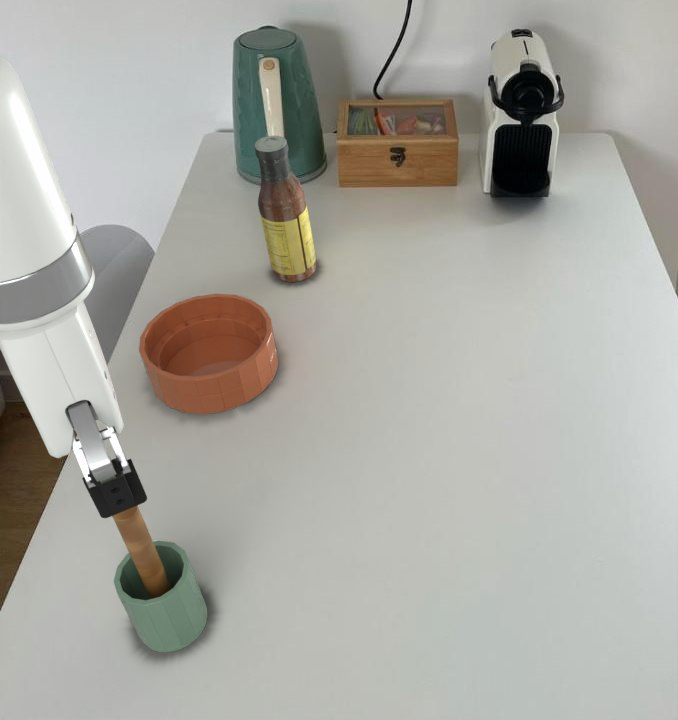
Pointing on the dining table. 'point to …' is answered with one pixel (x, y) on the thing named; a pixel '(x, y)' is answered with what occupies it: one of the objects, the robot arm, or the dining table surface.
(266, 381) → the bowl
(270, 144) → the sauce bottle
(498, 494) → the dining table surface
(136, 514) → the wooden dowel rod
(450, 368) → the dining table surface
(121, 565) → the crock
